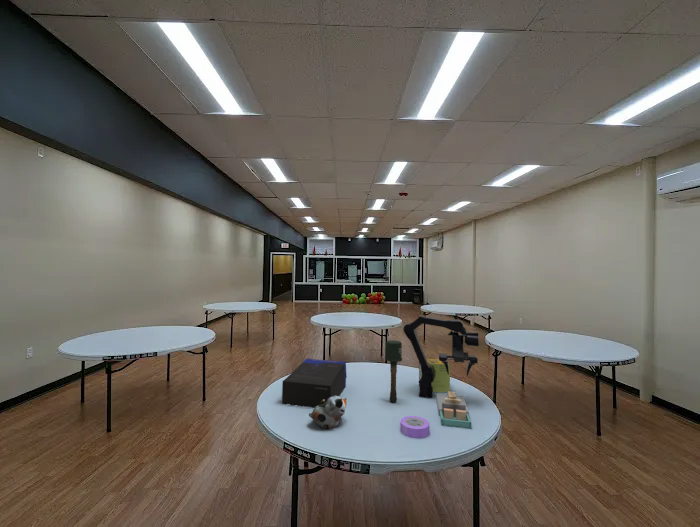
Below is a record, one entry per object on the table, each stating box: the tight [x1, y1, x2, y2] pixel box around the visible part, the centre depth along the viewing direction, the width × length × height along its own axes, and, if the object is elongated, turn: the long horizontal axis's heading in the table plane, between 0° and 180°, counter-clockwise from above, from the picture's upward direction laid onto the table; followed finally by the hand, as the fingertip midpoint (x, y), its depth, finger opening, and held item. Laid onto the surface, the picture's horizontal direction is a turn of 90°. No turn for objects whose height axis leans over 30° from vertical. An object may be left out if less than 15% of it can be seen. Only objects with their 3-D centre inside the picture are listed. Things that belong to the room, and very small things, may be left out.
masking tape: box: [399, 415, 430, 439], centre depth 128 cm, size 12×12×4 cm
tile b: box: [456, 410, 466, 421], centre depth 138 cm, size 4×4×2 cm
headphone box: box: [281, 358, 348, 409], centre depth 167 cm, size 25×35×14 cm
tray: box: [439, 411, 472, 430], centre depth 136 cm, size 12×9×3 cm
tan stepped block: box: [442, 390, 467, 411], centre depth 147 cm, size 10×12×4 cm
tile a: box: [444, 408, 453, 420], centre depth 139 cm, size 4×4×2 cm
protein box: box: [418, 358, 451, 393], centre depth 178 cm, size 10×15×16 cm
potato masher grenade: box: [385, 339, 403, 404], centre depth 158 cm, size 8×9×30 cm
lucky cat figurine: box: [308, 396, 348, 430], centre depth 134 cm, size 15×12×14 cm
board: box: [435, 392, 470, 417], centre depth 151 cm, size 13×20×3 cm, turn 168°
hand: (457, 375), depth 161 cm, fingers open, 9 cm apart
